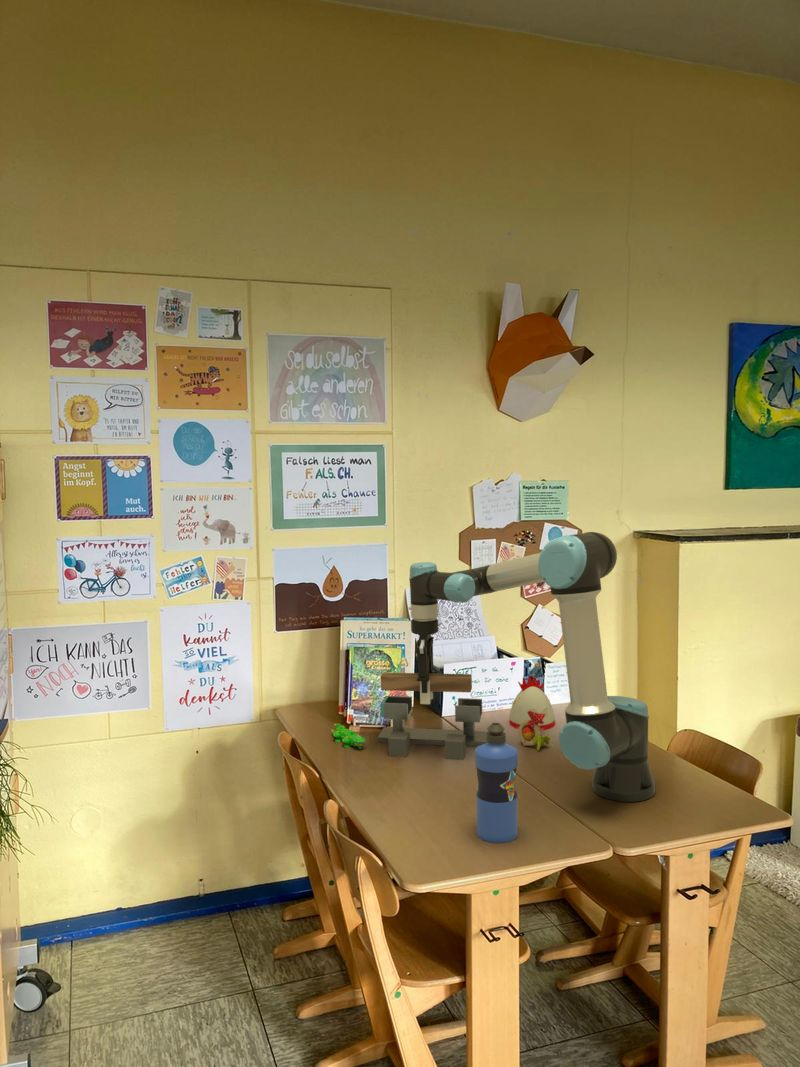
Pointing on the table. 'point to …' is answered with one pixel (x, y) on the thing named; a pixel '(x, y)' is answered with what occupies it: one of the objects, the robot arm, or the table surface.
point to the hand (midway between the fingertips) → (426, 701)
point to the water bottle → (496, 787)
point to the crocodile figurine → (347, 736)
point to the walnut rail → (436, 682)
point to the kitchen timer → (531, 705)
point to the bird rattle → (528, 731)
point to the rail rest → (401, 745)
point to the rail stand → (464, 712)
